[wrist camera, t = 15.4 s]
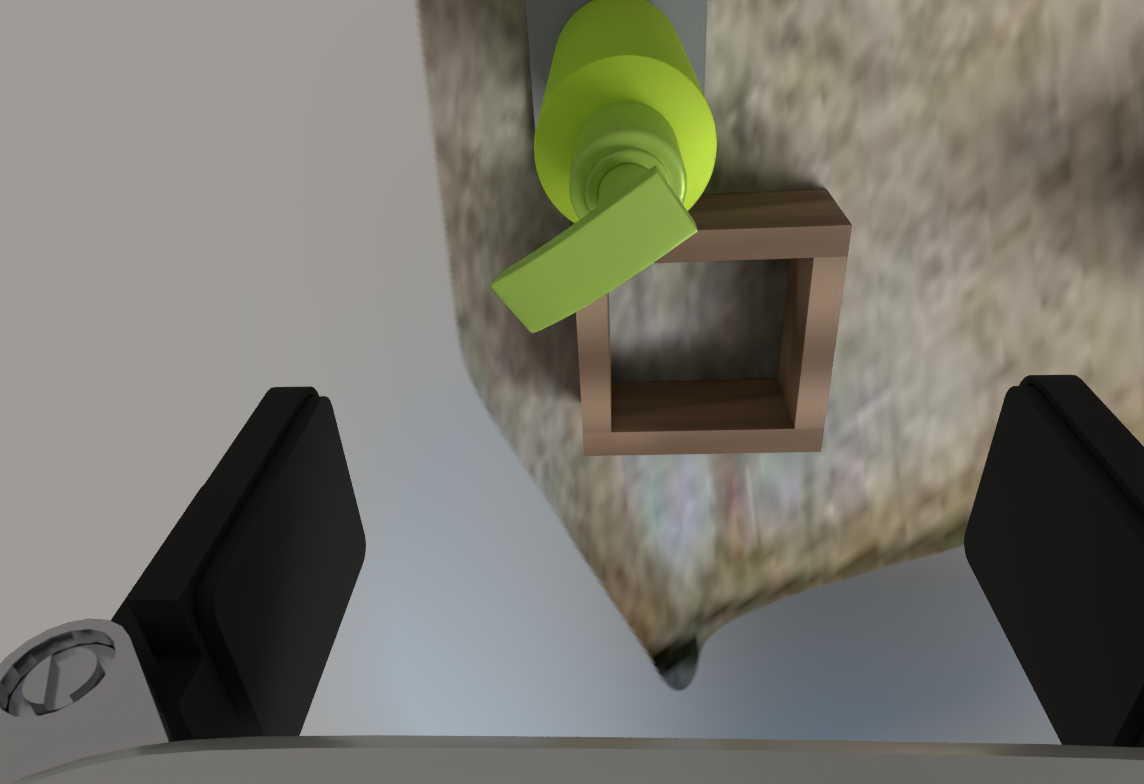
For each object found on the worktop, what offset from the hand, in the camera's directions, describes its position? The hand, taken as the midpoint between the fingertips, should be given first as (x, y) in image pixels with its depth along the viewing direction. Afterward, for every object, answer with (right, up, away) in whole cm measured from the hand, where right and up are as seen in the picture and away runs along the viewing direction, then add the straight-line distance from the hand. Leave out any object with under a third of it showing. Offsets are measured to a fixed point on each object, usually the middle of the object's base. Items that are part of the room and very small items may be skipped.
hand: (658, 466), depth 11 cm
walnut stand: (+6, +6, +32) cm, 33 cm away
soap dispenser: (0, +16, +26) cm, 30 cm away
